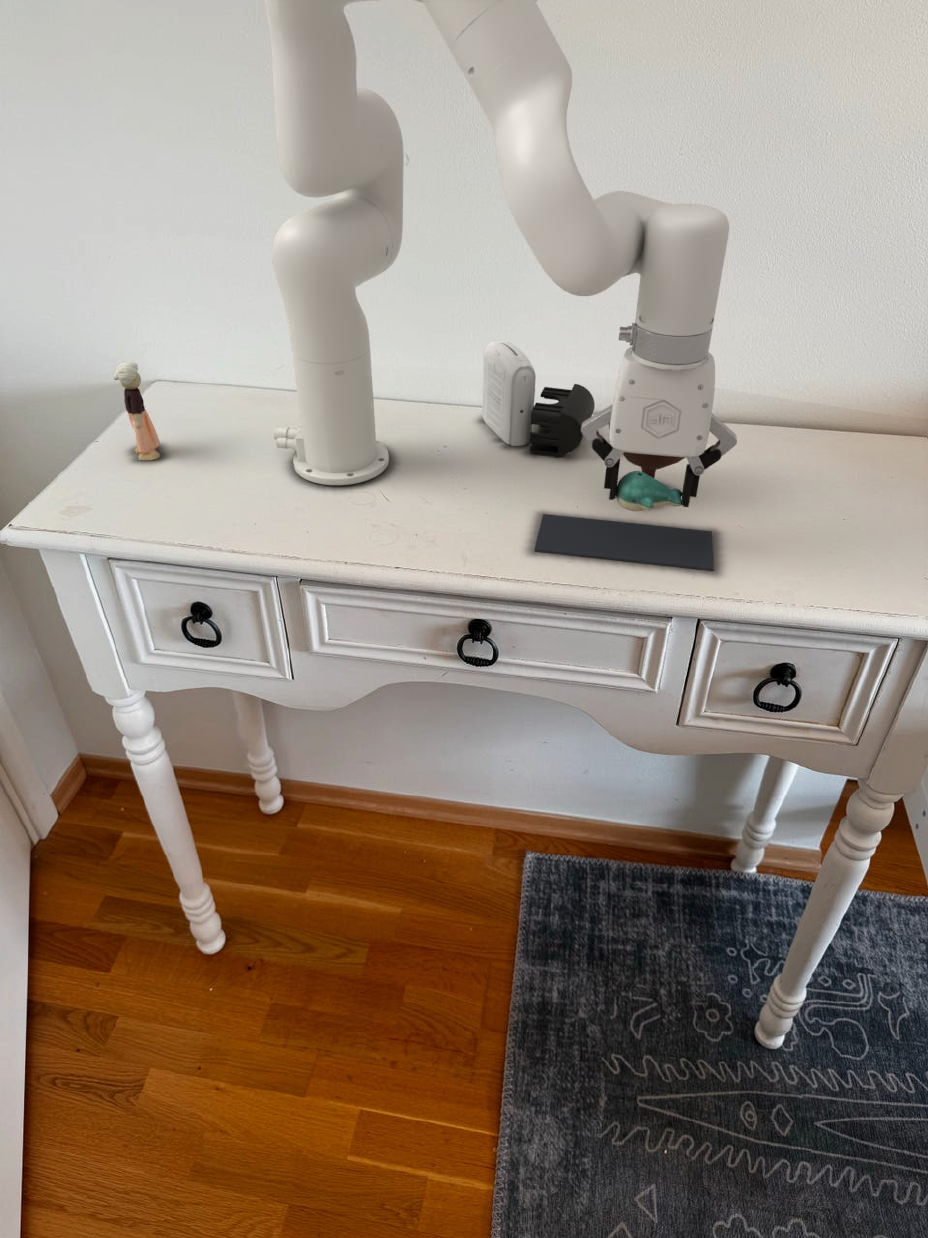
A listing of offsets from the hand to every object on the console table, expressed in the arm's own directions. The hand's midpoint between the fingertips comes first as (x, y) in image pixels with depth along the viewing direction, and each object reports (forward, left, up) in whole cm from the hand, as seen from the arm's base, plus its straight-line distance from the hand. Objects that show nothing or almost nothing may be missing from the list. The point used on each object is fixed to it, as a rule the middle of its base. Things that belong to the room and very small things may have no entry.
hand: (648, 496), depth 99 cm
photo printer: (-20, +26, -6) cm, 33 cm away
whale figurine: (0, 0, -1) cm, 1 cm away
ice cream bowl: (0, +12, -6) cm, 14 cm away
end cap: (-12, +24, -6) cm, 28 cm away
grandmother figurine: (-67, +10, -7) cm, 68 cm away
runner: (-2, 0, -6) cm, 7 cm away
